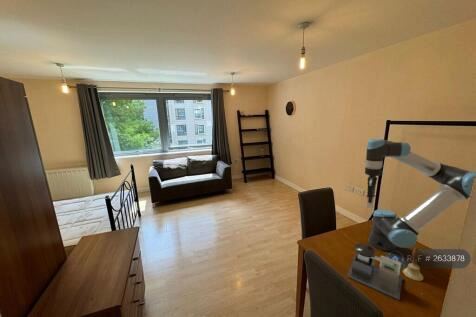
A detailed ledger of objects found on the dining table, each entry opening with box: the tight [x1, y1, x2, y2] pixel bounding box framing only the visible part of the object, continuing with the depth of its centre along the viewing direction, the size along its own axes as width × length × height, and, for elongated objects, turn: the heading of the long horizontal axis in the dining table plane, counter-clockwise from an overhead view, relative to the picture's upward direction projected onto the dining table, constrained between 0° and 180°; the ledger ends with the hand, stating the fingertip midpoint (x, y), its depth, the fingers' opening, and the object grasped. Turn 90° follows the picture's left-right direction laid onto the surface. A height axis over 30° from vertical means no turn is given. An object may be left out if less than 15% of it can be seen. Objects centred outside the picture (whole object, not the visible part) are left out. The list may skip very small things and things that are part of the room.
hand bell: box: [402, 247, 424, 282], centre depth 104 cm, size 8×8×16 cm
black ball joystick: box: [354, 243, 394, 266], centre depth 103 cm, size 9×17×9 cm, turn 47°
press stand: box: [346, 251, 403, 301], centre depth 103 cm, size 16×22×14 cm
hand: (369, 207), depth 114 cm, fingers closed
